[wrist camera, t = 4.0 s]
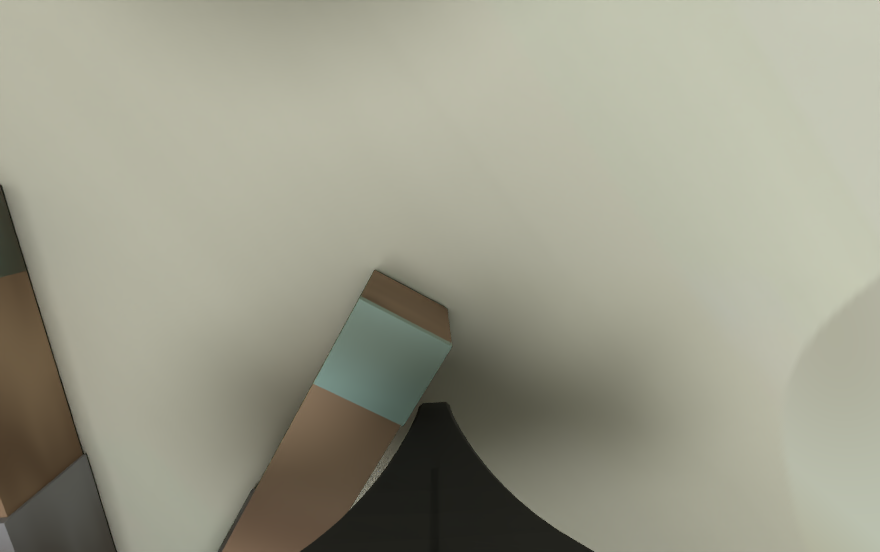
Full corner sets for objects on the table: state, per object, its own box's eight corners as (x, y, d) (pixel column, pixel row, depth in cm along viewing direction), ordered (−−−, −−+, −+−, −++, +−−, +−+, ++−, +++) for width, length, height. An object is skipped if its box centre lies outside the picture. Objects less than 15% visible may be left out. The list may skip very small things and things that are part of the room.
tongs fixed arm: (195, 681, 16) (122, 844, 12) (87, 689, 16) (-21, 854, 12) (60, 181, 11) (-131, 189, 8) (-94, 189, 11) (-365, 201, 7)
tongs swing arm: (247, 646, 16) (211, 744, 13) (180, 622, 15) (128, 717, 13) (450, 310, 12) (455, 348, 10) (371, 268, 12) (354, 297, 9)
